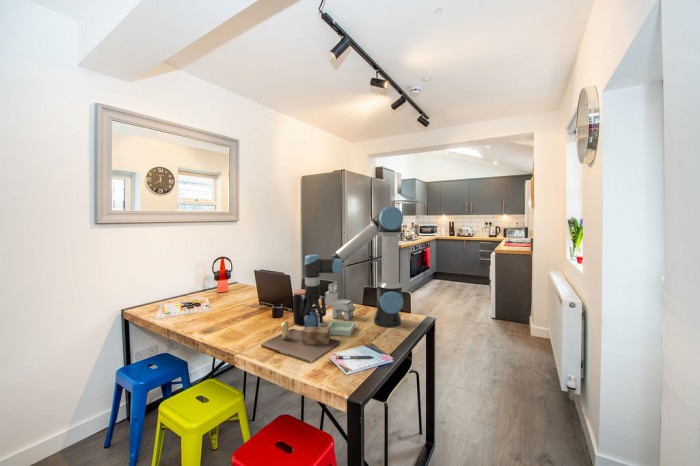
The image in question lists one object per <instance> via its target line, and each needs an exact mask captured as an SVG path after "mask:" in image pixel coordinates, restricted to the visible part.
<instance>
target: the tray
mask: <svg viewBox="0 0 700 466" xmlns="http://www.w3.org/2000/svg"><path fill="white" fill-rule="evenodd" d="M326 327H330V337H331V336H333V337H346V338H347V337H349V338H350V337H351V335H352V334H353V332H354V330H355V329H356V321H339V320H331V321H330V322H329V323H328V325H326Z"/></svg>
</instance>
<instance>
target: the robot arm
mask: <svg viewBox="0 0 700 466" xmlns="http://www.w3.org/2000/svg"><path fill="white" fill-rule="evenodd" d="M403 222H404V214H403V212H402V211H401V210H400V209H399V208H398V207H396V206H393V205H389V206H385V207H383V208H382V209H381V210H380V211H379V212H378V213H377V214H376V215H375V217H374V218H372V219H371V220H370V223H369V224H368V225H366V226H365V227H364V228H363V229H361V230H360V231H359V232H358V233H357V234H355V236H353V237H352V238H350V240H348V241H347V242H346V243H345V244H343V246H341V247H340V248H338V250H336V251H335V252H334V253H333V254H331V255H329V257H327V258H321V257H320V255H319V254H307V255H305V257H304V284H305V286H304V289H305V295H301V296H300V297H299V298H300V311H299V314H300V315H302V316H303V322H305V320H306V318H307V316H308V315H306V314H307V311H308V308H309V304H310V303H312V304H314V305H315V308H316V312H317V314H318V315H319V317H318V327H321V323H323V322H324V320H323V319H324V317H325V316H326V315H327V308H326V307H327V305H325V298H326V297H325V295H324V296H323V295H321V293H320V292H321V285H320V281H321V279H320V274H334V275H335V274H341V273H342V272H343V265H344V263H345V262H346V261H348V260H349V259H350V258H351V257H352V256H354V255H355V254H356V253H357V252H359V251H360V250H361V249H363V247H365V246H366V245H367V244H368V243H370V242H371V241H372V240H373V239H375V238H376V237H378V236H379V235H380V236H381V281H380V282H377V284H376V300H377V301H376V311H375V315H374V317H373V323H374V324H375V325H377V326H378V327H385V328H392V327H393V328H394V327H398V326H400V325H401V324H402V318H401V315H400V311H401V310H402V308H403V306H404V298H403V293H402V291H403V290H402V289H403V285H402V284H401V283H400V274H399V273H400V271H399V270H400V260H399V259H400V258H399V257H400V253H399V252H400V251H399V250H400V246H399V244H400V235H401V234H402V232H403V231H402V229H403V227H402V226H403ZM305 298H306V300H307V302H306V306H305V309H304V312H303V308H304V299H305ZM319 300H320V301H321V302H320V301H319ZM320 303H321V305H320Z"/></svg>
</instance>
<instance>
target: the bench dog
mask: <svg viewBox="0 0 700 466" xmlns="http://www.w3.org/2000/svg"><path fill="white" fill-rule="evenodd" d="M289 327H290V326H289V322H288V321H282V322H281V340H282V339H288V338H289V337H290V334H289V333H290V332H289ZM289 339H290V338H289ZM289 339H288V340H289Z"/></svg>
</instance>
